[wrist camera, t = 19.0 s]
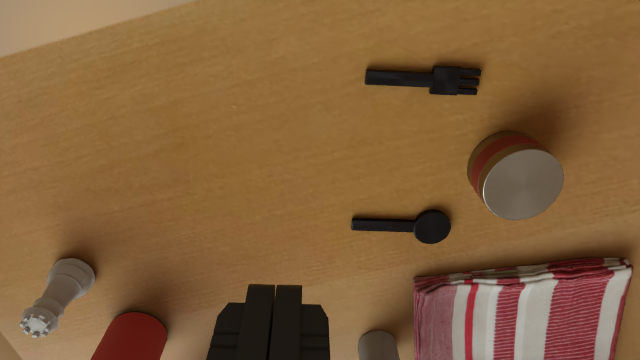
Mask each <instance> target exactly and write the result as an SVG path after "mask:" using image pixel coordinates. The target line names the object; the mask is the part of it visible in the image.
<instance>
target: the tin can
mask: <svg viewBox="0 0 640 360" xmlns="http://www.w3.org/2000/svg"><path fill="white" fill-rule="evenodd" d="M467 174H468V178H469V181H470V183H471V185H472V186H473V188H474V190H475V191H476V193H477V194H478V196H479V197H480V199H481V200H482V201H483V203H484V204H485V205H486V206H487V207H488V209H489V210H490V211H491V212H492V213H493V214H495V215H497V216H498V217H501V218H503V219H508V220H523V219H527V218H530V217H533V216H535V215H538V214H539V213H541V212H543V211H544V210H546V209H547V208H548V207H549V206H550V205H551V204H552V203H553V202H554V201H555V200H556V198H557V197H558V195H559V193H560V191H561V189H562V186H563V180H564V174H563V169H562V167H561V164H560V163H559V161H558V160H557V159H556V158H555V157H554V156H553V155H552V154H551V153H550V152H549V151H548V150H547V149H545V148H544V147H543V146H542V145H540V144H539V143H538V142H537V141H535V140H533V139H532V138H531V137H530V136H528V135H526V134H524V133H521V132H516V131H506V132H500V133H497V134H494V135H492V136H490V137H488V138H487V139H485V140H484V141H482V142H481V143H480V144H479V145H478V146H477V147H476V149H475V150H474V151H473V153H472V154H471V157H470V159H469V162H468V167H467Z"/></svg>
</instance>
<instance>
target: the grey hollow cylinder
mask: <svg viewBox="0 0 640 360" xmlns="http://www.w3.org/2000/svg"><path fill="white" fill-rule="evenodd" d="M358 351H359V360H400V359H399V355H398V350H397V345H396V342H395V339H394V337H393V336H392V335H391V334H389V333H387V332H385V331H372V332H369V333H367V334H365V335H363V336H362V337H361V339H360V340H359V343H358Z"/></svg>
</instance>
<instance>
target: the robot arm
mask: <svg viewBox="0 0 640 360" xmlns="http://www.w3.org/2000/svg"><path fill="white" fill-rule="evenodd" d="M206 360H330V345H329V324H328V317H327V315H326V314H325V312H324V310H323V309H322V307H321V305H312V304H302V285H277V287H276V296H275V285H262V284H249V286H248V291H247V296H246V301H245V303H228V304H227V305H226V307H225V308H224V309H223V310H222V311H221V313H220V314H219V315H218V317H217V321H216V324H215V328H214V334H213V336H212V340H211V344H210V348H209V351H208V355H207V359H206Z"/></svg>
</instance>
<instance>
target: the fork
mask: <svg viewBox="0 0 640 360" xmlns="http://www.w3.org/2000/svg"><path fill="white" fill-rule="evenodd" d="M481 71H482V70H480V69H474V68H461V67H455V66H433V71H432V72H411V71H389V70H366V75H365V84H366V85H388V86H411V87H430V89H429V93H430V94H438V95H457V94H464V95H476V94H477V89H476V88H463V87H459V85H479V79H477V78H461V75H473V76H480V75H481Z"/></svg>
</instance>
